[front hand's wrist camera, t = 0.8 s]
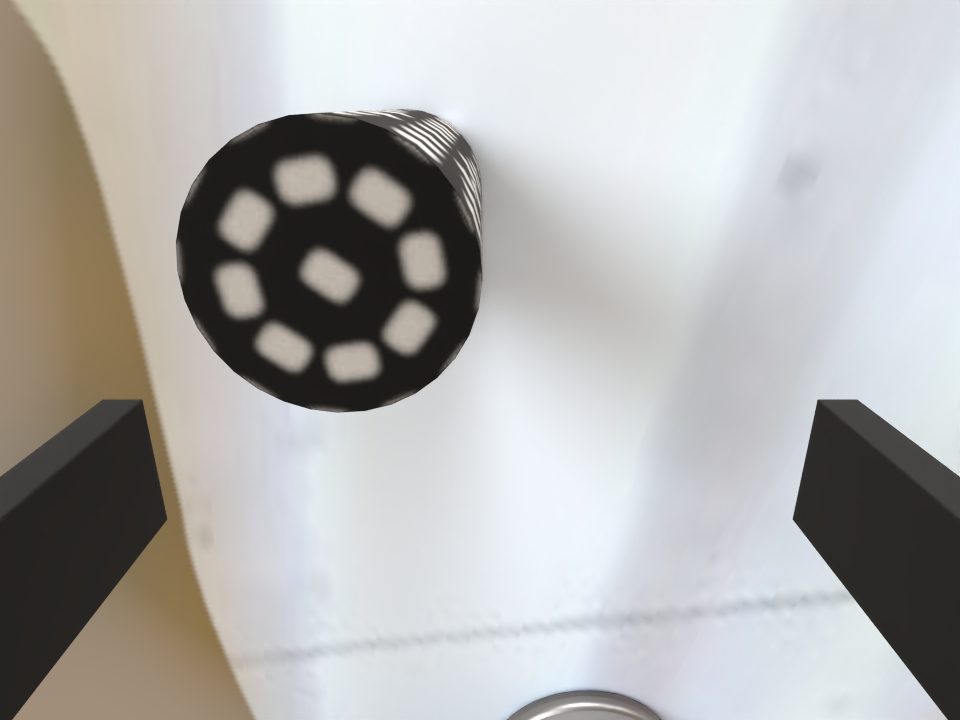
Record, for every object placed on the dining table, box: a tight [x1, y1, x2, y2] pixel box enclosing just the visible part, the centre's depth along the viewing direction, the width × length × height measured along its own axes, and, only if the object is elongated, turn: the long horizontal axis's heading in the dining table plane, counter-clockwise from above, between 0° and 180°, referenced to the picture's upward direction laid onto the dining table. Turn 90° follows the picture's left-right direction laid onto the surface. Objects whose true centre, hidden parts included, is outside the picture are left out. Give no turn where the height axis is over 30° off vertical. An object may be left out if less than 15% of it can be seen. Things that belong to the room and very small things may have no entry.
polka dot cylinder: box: [176, 109, 482, 412], centre depth 27 cm, size 8×8×20 cm
